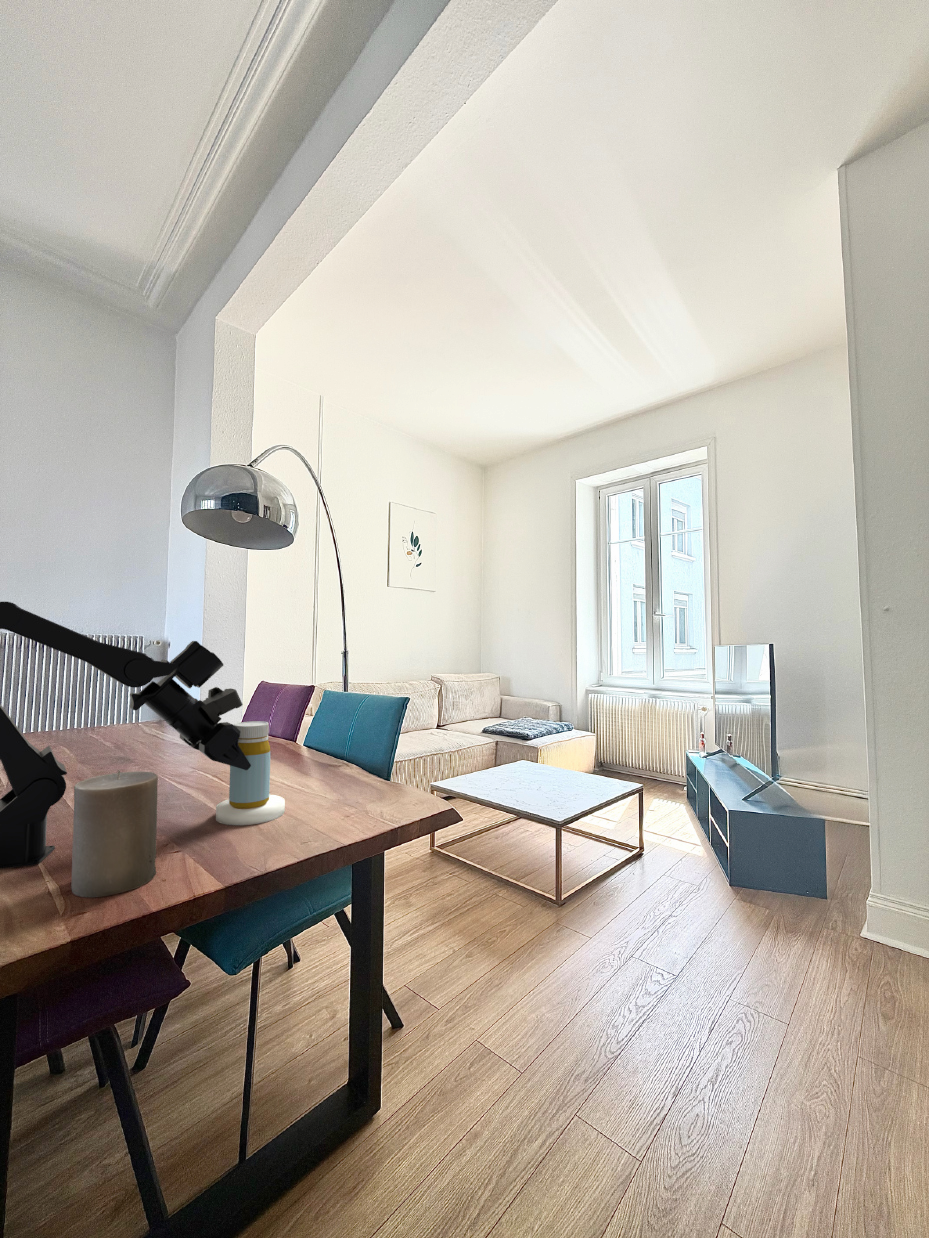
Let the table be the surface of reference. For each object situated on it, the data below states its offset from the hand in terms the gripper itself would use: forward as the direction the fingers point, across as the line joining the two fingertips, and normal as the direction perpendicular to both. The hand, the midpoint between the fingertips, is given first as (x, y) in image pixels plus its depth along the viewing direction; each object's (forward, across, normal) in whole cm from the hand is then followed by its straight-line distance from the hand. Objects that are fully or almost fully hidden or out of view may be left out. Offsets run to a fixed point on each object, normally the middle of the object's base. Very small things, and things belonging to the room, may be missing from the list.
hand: (240, 763), depth 98 cm
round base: (+8, 0, +5) cm, 10 cm away
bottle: (+7, 0, +4) cm, 8 cm away
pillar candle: (-8, -17, +22) cm, 29 cm away
